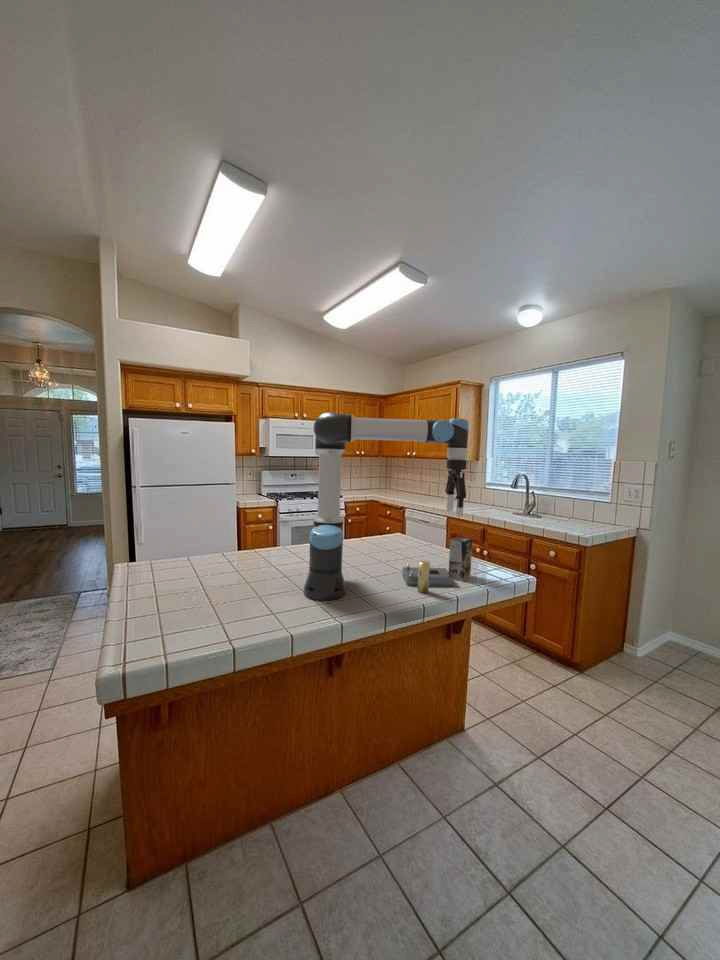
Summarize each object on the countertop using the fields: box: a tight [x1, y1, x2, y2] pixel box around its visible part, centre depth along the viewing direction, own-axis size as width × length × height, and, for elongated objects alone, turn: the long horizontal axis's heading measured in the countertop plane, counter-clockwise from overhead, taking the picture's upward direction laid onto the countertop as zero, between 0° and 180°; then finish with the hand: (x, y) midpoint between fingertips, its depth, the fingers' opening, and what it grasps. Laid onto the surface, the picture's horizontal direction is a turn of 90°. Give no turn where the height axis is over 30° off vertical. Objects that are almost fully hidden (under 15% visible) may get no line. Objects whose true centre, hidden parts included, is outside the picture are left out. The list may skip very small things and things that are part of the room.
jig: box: [401, 563, 454, 587], centre depth 155 cm, size 18×12×5 cm, turn 92°
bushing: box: [417, 560, 431, 595], centre depth 143 cm, size 4×4×11 cm
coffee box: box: [448, 536, 473, 582], centre depth 161 cm, size 9×6×16 cm
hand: (454, 513), depth 152 cm, fingers open, 13 cm apart
